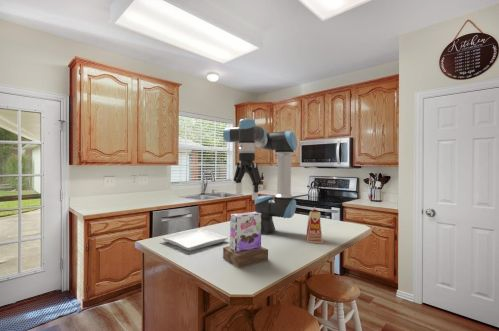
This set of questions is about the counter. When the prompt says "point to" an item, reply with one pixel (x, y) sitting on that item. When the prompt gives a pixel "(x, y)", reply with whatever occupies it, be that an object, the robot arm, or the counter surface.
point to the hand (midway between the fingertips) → (246, 197)
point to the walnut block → (245, 256)
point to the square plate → (194, 239)
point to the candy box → (245, 231)
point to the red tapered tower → (314, 227)
